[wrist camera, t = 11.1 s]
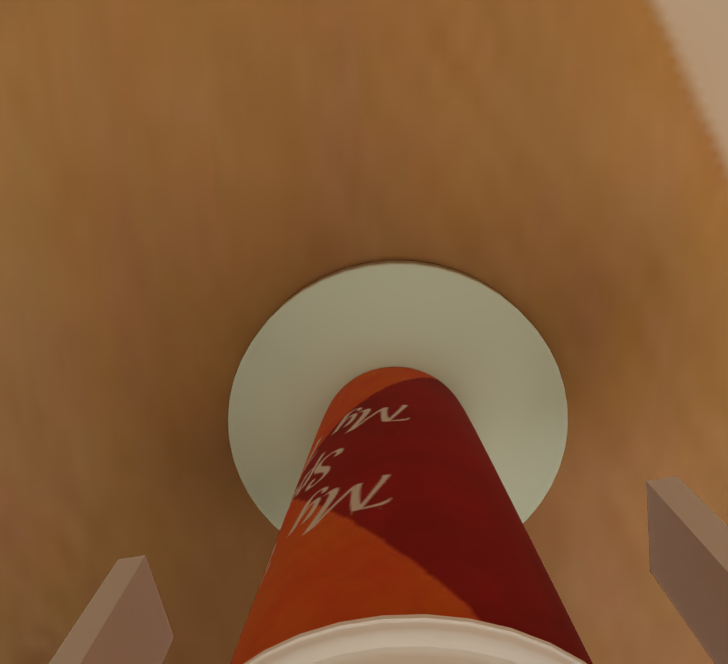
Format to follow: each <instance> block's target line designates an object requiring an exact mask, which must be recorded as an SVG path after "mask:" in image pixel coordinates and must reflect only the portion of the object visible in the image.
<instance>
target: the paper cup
mask: <svg viewBox="0 0 728 664" xmlns="http://www.w3.org/2000/svg"><path fill="white" fill-rule="evenodd" d="M231 664H592V662H591V660H590V658H589V656H588V654H587V652H586V650H585V648H584V646H583V644H582V642H581V640H580V638H579V636H578V634H577V632H576V630H575V628H574V626H573V624H572V622H571V620H570V618H569V616H568V614H567V612H566V609H565V607H564V605H563V603H562V601H561V599H560V597H559V595H558V593H557V591H556V589H555V587H554V585H553V583H552V581H551V579H550V577H549V575H548V573H547V571H546V569H545V567H544V565H543V563H542V561H541V559H540V557H539V555H538V553H537V551H536V549H535V547H534V545H533V543H532V541H531V539H530V537H529V535H528V533H527V531H526V529H525V527H524V525H523V523H522V521H521V519H520V517H519V515H518V513H517V511H516V509H515V507H514V505H513V503H512V501H511V499H510V497H509V495H508V493H507V491H506V489H505V487H504V485H503V483H502V481H501V479H500V477H499V475H498V473H497V471H496V469H495V467H494V465H493V463H492V461H491V459H490V457H489V456H488V454H487V452H486V450H485V448H484V446H483V444H482V442H481V440H480V438H479V436H478V434H477V432H476V430H475V428H474V426H473V425H472V423H471V421H470V419H469V417H468V415H467V414H466V412H465V410H464V408H463V407H462V405H461V404H460V402H459V401H458V399H457V398H456V396H455V395H454V394H453V393H452V392H451V390H450V389H449V388H448V387H447V386H445V385H444V384H443V383H442V382H441V381H439V380H438V379H436V378H435V377H433V376H431V375H429V374H427V373H425V372H422V371H419V370H416V369H412V368H406V367H384V368H379V369H375V370H371V371H368V372H366V373H363V374H361V375H359V376H357V377H356V378H354V379H353V380H351V381H350V382H348V383H347V384H346V385H345V386H344V387H343V388H342V389H341V390H340V391H339V392H338V393H337V394H336V396H335V397H334V398H333V400H332V402H331V403H330V405H329V407H328V409H327V411H326V413H325V415H324V417H323V420H322V422H321V424H320V427H319V429H318V432H317V434H316V437H315V439H314V442H313V444H312V447H311V450H310V452H309V455H308V457H307V460H306V462H305V465H304V468H303V470H302V473H301V476H300V478H299V481H298V484H297V486H296V489H295V492H294V494H293V497H292V500H291V502H290V505H289V508H288V510H287V513H286V516H285V518H284V521H283V524H282V526H281V529H280V532H279V534H278V537H277V540H276V543H275V545H274V548H273V551H272V553H271V556H270V559H269V561H268V564H267V567H266V569H265V572H264V575H263V578H262V580H261V583H260V586H259V588H258V591H257V594H256V596H255V599H254V602H253V605H252V607H251V610H250V613H249V615H248V618H247V621H246V623H245V626H244V629H243V631H242V634H241V637H240V639H239V642H238V645H237V647H236V650H235V653H234V656H233V658H232V661H231Z"/></svg>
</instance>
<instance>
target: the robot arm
mask: <svg viewBox="0 0 728 664" xmlns="http://www.w3.org/2000/svg"><path fill="white" fill-rule="evenodd" d="M646 486H647V509H648V533H649V556H650V572H651V573H652V575H653V576H654V578H655V579H656V581H657V582H658V583H659V585H660V586H661V588H662V589H663V591H664V592H665V593H666V595H667V596H668V598H669V599H670V601H671V602H672V603H673V605H674V606H675V608H676V609H677V611H678V612H679V613H680V615H681V616H682V618H683V619H684V621H685V622H686V623H687V625H688V626H689V628H690V629H691V631H692V632H693V633H694V635H695V636H696V638H697V639H698V641H699V642H700V643H701V645H702V646H703V648H704V649H705V650H706V652H707V653H708V655H709V656H710V658H711V659H712V660H713V662H714V663H715V664H728V526H727V525H726V524H725V523H724V522H723V521H722V520H721V519H720V518H719V517H718V516H717V515H716V514H715V513H714V512H713V511H712V510H711V509H710V508H709V507H708V506H707V505H706V504H705V503H704V502H703V501H702V500H701V499H700V498H699V497H698V496H697V495H696V494H695V493H694V492H693V491H692V490H691V489H690V488H689V487H688V486H687V485H686V484H685V483H684V482H683V481H682V480H681V479H680V478H679V477H678V476H676V477H670V478H663V479H656V480H649V481H646ZM173 638H174V635H173V632H172V629H171V627H170V624H169V621H168V618H167V615H166V612H165V610H164V607H163V604H162V601H161V598H160V595H159V592H158V590H157V587H156V584H155V581H154V578H153V575H152V572H151V570H150V567H149V564H148V561H147V558H146V555H143V556H136V557H129V558H123V559H118V560H117V562H116V563H115V565H114V566H113V568H112V569H111V571H110V572H109V574H108V575H107V577H106V578H105V580H104V581H103V583H102V584H101V586H100V587H99V589H98V590H97V592H96V593H95V595H94V596H93V598H92V599H91V601H90V602H89V604H88V605H87V607H86V608H85V610H84V611H83V613H82V614H81V616H80V617H79V619H78V620H77V622H76V623H75V625H74V626H73V628H72V629H71V631H70V632H69V634H68V635H67V637H66V638H65V640H64V641H63V643H62V644H61V646H60V647H59V649H58V650H57V652H56V653H55V655H54V656H53V658H52V659H51V661H50V662H49V664H163V661H164V659H165V657H166V654H167V652H168V650H169V647H170V645H171V643H172V640H173Z"/></svg>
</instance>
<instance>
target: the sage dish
mask: <svg viewBox="0 0 728 664" xmlns="http://www.w3.org/2000/svg"><path fill="white" fill-rule="evenodd" d="M384 367H406V368H412V369H416V370H419V371H422V372H425V373H427V374H429V375H431V376H433V377H435V378H436V379H438V380H439V381H441V382H442V383H443V384H444V385H445V386H447V387H448V388H449V389H450V390H451V392H452V393H453V394H454V395H455V396H456V398H457V399H458V401H459V402H460V404H461V405H462V407H463V408H464V410H465V412H466V414H467V415H468V417H469V419H470V421H471V423H472V425H473V426H474V428H475V430H476V432H477V434H478V436H479V438H480V440H481V442H482V444H483V446H484V448H485V450H486V452H487V454H488V456H489V457H490V459H491V461H492V463H493V465H494V467H495V469H496V471H497V473H498V475H499V477H500V479H501V481H502V483H503V485H504V487H505V489H506V491H507V493H508V495H509V497H510V499H511V501H512V503H513V505H514V507H515V509H516V511H517V513H518V515H519V517H520V519H521V521H522V523H524V522H525V521H526V520H527V519H528V518H529V517H530V516H531V514H532V513H533V512H534V511H535V509H536V508H537V507H538V506H539V504H540V503H541V502H542V500H543V498H544V497H545V495H546V494H547V492H548V490H549V489H550V487H551V485H552V483H553V481H554V479H555V476H556V474H557V472H558V470H559V467H560V464H561V460H562V457H563V453H564V450H565V445H566V437H567V430H568V407H567V400H566V394H565V388H564V384H563V381H562V378H561V375H560V371H559V368H558V366H557V364H556V362H555V359H554V357H553V355H552V353H551V351H550V349H549V347H548V346H547V344H546V343H545V341H544V340H543V338H542V337H541V335H540V334H539V333H538V331H537V330H536V328H535V327H534V326H533V325H532V324H531V323H530V322H529V321H528V320H527V319H526V317H525V316H524V315H523V314H522V313H521V312H520V311H519V310H518V309H517V308H516V307H515V306H514V305H513V304H512V303H510V302H509V301H508V300H507V299H505V298H504V297H503V296H502V295H501V294H499V293H498V292H497V291H496V290H494V289H492V288H491V287H489V286H487V285H486V284H484V283H482V282H481V281H479V280H478V279H475V278H473V277H471V276H469V275H466V274H464V273H462V272H459V271H457V270H454V269H450V268H447V267H444V266H440V265H437V264H431V263H425V262H418V261H405V260H387V261H378V262H369V263H364V264H360V265H356V266H352V267H348V268H344V269H341V270H339V271H336V272H334V273H331V274H329V275H326V276H324V277H322V278H320V279H318V280H316V281H315V282H313V283H311V284H309V285H307V286H306V287H304V288H303V289H301V290H300V291H299V292H297V293H296V294H294V295H293V296H292V297H290V298H289V299H288V300H287V301H286V302H285V303H284V304H283V305H281V306H280V307H279V308H278V309H277V310H276V311H275V312H274V313H273V314H272V315H271V317H270V318H269V319H268V321H267V322H266V323H265V325H264V326H263V327H262V328H261V330H260V331H259V332H258V334H257V335H256V336H255V338H254V339H253V340H252V342H251V344H250V346H249V347H248V349H247V351H246V353H245V354H244V356H243V358H242V360H241V362H240V365H239V368H238V370H237V373H236V375H235V378H234V382H233V386H232V390H231V395H230V399H229V411H228V430H229V441H230V446H231V451H232V456H233V460H234V462H235V465H236V468H237V471H238V474H239V476H240V479H241V481H242V482H243V484H244V486H245V488H246V490H247V492H248V494H249V496H250V497H251V498H252V500H253V501H254V503H255V504H256V506H257V507H258V508H259V510H260V511H261V512H262V513H263V514H264V516H265V517H266V518H267V519H268V520H269V521H270V522H271V523H272V524H273V525H274V526H275V527H276V528H277V529H278V530H279V531H280V529H281V526H282V524H283V521H284V518H285V516H286V513H287V510H288V508H289V505H290V502H291V500H292V497H293V494H294V492H295V489H296V486H297V484H298V481H299V478H300V476H301V473H302V470H303V468H304V465H305V462H306V460H307V457H308V455H309V452H310V450H311V447H312V444H313V442H314V439H315V437H316V434H317V432H318V429H319V427H320V424H321V422H322V420H323V417H324V415H325V413H326V411H327V409H328V407H329V405H330V403H331V402H332V400H333V398H334V397H335V396H336V394H337V393H338V392H339V391H340V390H341V389H342V388H343V387H344V386H345V385H346V384H347V383H348V382H350V381H351V380H353V379H354V378H356V377H357V376H359V375H361V374H363V373H366V372H368V371H371V370H375V369H379V368H384Z"/></svg>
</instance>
